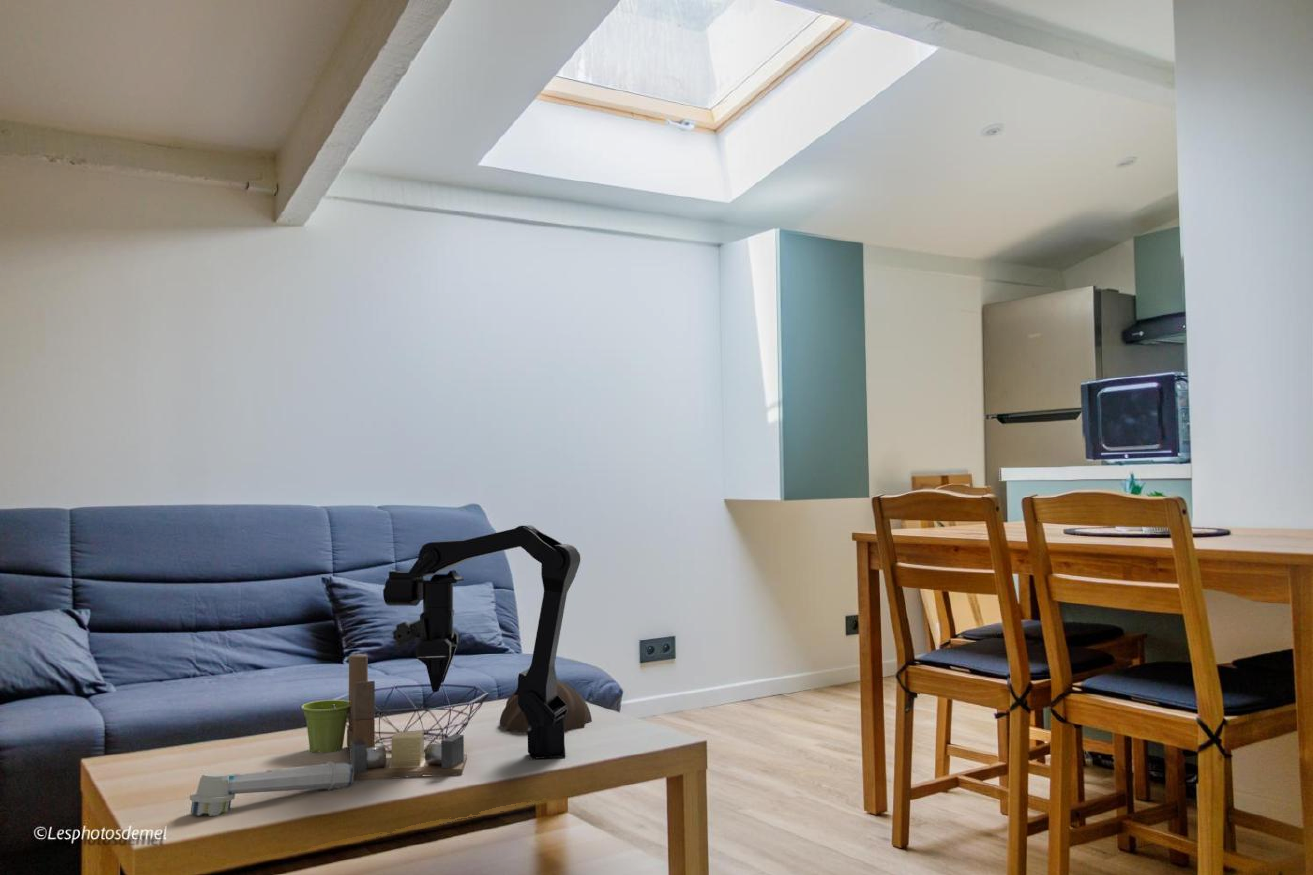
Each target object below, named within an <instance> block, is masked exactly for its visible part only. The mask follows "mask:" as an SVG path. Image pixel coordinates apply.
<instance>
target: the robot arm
mask: <svg viewBox="0 0 1313 875" xmlns="http://www.w3.org/2000/svg"><path fill="white" fill-rule="evenodd" d="M517 548H522V549H523V550H524V551H525V552H526V553H527V554H529V555H530V556H531V557H532V558H533V559H534V560H536V561H537V562H538V563H541V564H540V565H541V568H540V569H541V573H540V575H541V580H542V587H543V594H542V595H543V596H542V602H541V606H540V611H539V612H540V613H539V617H538V618H539V619H538V624H537V630H536V635H535V640H534V645H533V646H534V647H533V652H532V658H531V663H530V666H529V668H528V669H526V670H524V671H522V672H520V673H518V676H517V677H518V678H517V688H516V690H517V691H516V690H515V691H516V692H515V694H514V695H515V696H516V695H518V697H517V704H518V706H519V707H520V709H521V711H522V712H524V713H525V716H526V719H527V722H528V725H531V728H528V734H527V753H528V754H529V756H530V759H547V758H548V759H551V758H552V759H553V758H554V759H555V758H565V757H566V747H565V742H566V741H565V731H564V718H563V717H565V716H566V714H567V711H568V707H569V706H568V705H567V704H566V703H565V702H564V701H563V700H562V698H561V697H560V696H559V695H558V694H557V680H558V677H557V671H556V664H555V663H556V658H557V654H558V653H557V652H558V646H559V641H560V637H561V629H562V625H563V624H562V623H563V618H564V612H565V607H566V601H567V595H568V592H569V589H570V588H571V586H572V584H573V582H574V580H575V578H576V575H577V572H578V569H579V566H580V564H581V554H580V552H579V551H578V549H577V548H576V547H574V545H572V544H570V543H569V544H568V543H567V544H566V543H561V542H560V541H559V540H557V539H555V538H553V537H551V536H549V535H547V534H545V533H544V532H542V531H540V530H538V529H537V528H536V527H535V526H533V525H531V524H529V525H527V524H525V525H518V526H517V527H515V528H511V529H507V530H502V531H499V532H495V533H489V534H486V535H481V536H478V537H473V538H469V539H468V538H467V539H465V540H462V539H461V540H460V539H458V540H442V541H432V542H430V541H429V542H427V543H425V544H423V545H422V547H421V549H420V550H419V551H418V552H419V554H418V558H417V560H416V561H415V563H414V564H413V565H412V567H411V568H410V570H409V571H400V570H392V571H391V570H390V571H389V572H388V578H387V580H386V581H385V585H384V588H383V592H382V595H383V600H384V603H385V604H386V605H387V606H391V607H397V606H398V607H405V606H406V607H417V606H418V605H420V602H421V601H422V612H421V613H420V614H419V619H417V620H415V621H412V622H409V623H408V622H406V621H402V622H401V623H397V624H396V627H395V629H393V630H392V631H391V632H392V633H391V634H392V636H393V637H392V638H393V640H394V641H395V643H396V646H397V647H401V646H403V645H405V644H406V643H408V642H411V641H414V640H416V639H419V641H420V642H418V644H417V645H416V646H415V657H416V658H417V660H418V661H420V662H421V663H422V664H423V665H425V667H426V671H427V674H428V678H429V683H430V688H431V691H432V692H433V693H438V692H439V691H440V689H441V685H442V684H444V682H445V680H446V677H447V674H448V671H449V669H450V666H451V665H452V660H453V658H454V657H455V656H454V655H455V653H456V650H457V647H458V643H459V632H458V631H457V630H456V629H455V628H454V615H455V609H454V584H457V583H462V582H464V578H463V577H462V576H461V575H460V574H459V573H457V571H456V570H455V569H453V568H454V567H457V566H459V565H461V564H463V563H465V562H467V561H469V560H471V559H473V558H478V557H482V556H486V555H491V554H495V553H499V552H503V551H507V550H512V549H517ZM450 569H453V570H450ZM446 570H449V571H448V573H438V572H440V571H442V572H443V571H446ZM425 576H426V577H427V576H431V578H429V579H428V578H427V579H426V578H424V577H425ZM452 643H453V644H452Z"/></svg>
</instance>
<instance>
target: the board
mask: <svg viewBox="0 0 1313 875" xmlns="http://www.w3.org/2000/svg"><path fill="white" fill-rule="evenodd" d="M467 755H468V754H467V753H465V754H464V762H463V763H461V764H460V765H458V766H457V767H455V768H453V769H442V765H428V764H426V761H425V755H424V759H423V761H422V763H421V766H408V767H391V757H386V766H385V767H379V768H372V769H366V773H359V774H354V777H353V781H354V780H355V781H361V780H376V779H377V780H378V779H379V780H381V779H395V778H394V777H403V778H407V777H406V776H423V775H443V776H455V775H454V774H462V775H463V773H462V772H464V770H465V766H466V762H467V760H468V759H467ZM423 777H424V776H423Z"/></svg>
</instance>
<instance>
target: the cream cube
mask: <svg viewBox="0 0 1313 875" xmlns="http://www.w3.org/2000/svg"><path fill="white" fill-rule="evenodd" d="M424 742H425V730H409V731H395V733H394V734H393V735H392V736H391V756H390V758H391V767H408V766H421V763H422V761H423V759H424V756H425V743H424Z"/></svg>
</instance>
